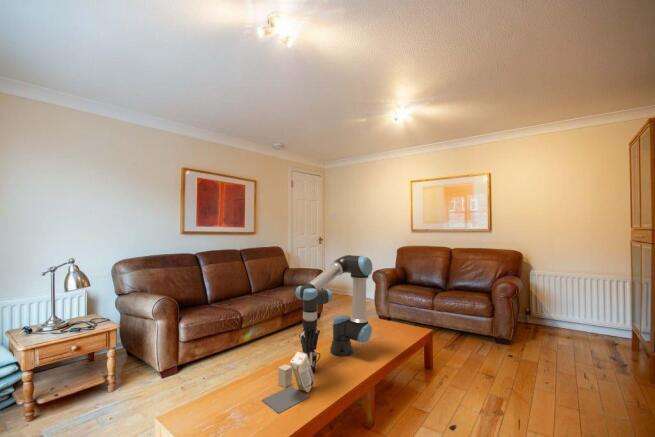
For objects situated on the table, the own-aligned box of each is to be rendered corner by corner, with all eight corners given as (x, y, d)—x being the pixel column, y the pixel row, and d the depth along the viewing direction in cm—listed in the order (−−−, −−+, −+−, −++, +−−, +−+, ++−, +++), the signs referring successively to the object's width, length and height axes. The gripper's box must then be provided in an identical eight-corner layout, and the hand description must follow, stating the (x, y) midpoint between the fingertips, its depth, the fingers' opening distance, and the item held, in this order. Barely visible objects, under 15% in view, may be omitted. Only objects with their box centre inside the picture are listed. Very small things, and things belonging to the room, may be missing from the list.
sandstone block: (284, 380, 161) (285, 364, 162) (291, 383, 159) (292, 366, 159) (278, 384, 157) (278, 367, 158) (285, 387, 154) (285, 370, 155)
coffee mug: (303, 375, 167) (303, 357, 167) (300, 368, 175) (300, 351, 176) (323, 373, 170) (323, 355, 170) (319, 366, 178) (320, 349, 179)
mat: (291, 386, 156) (291, 385, 156) (309, 397, 146) (309, 396, 146) (261, 400, 143) (261, 399, 143) (278, 413, 133) (278, 412, 133)
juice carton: (317, 380, 156) (309, 353, 149) (308, 394, 149) (299, 366, 142) (305, 376, 159) (296, 349, 153) (296, 390, 153) (287, 362, 146)
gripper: (314, 314, 163) (313, 358, 163) (295, 320, 154) (294, 366, 153) (323, 318, 158) (323, 363, 157) (305, 323, 149) (304, 371, 148)
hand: (309, 364), depth 155 cm, fingers closed
